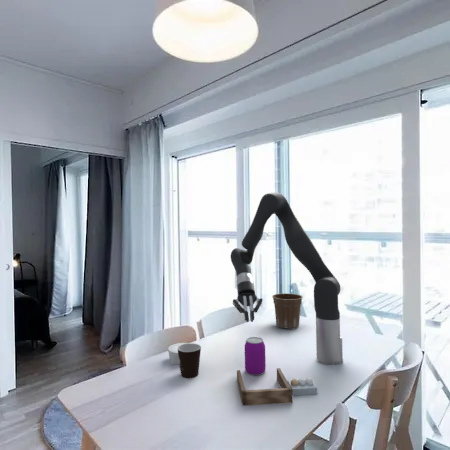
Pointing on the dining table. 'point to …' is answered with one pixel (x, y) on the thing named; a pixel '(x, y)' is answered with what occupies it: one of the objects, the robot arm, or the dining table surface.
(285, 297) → the plant pot
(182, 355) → the coffee mug
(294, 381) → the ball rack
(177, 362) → the ramekin
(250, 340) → the beverage can
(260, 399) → the walnut U-seat
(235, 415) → the dining table surface
